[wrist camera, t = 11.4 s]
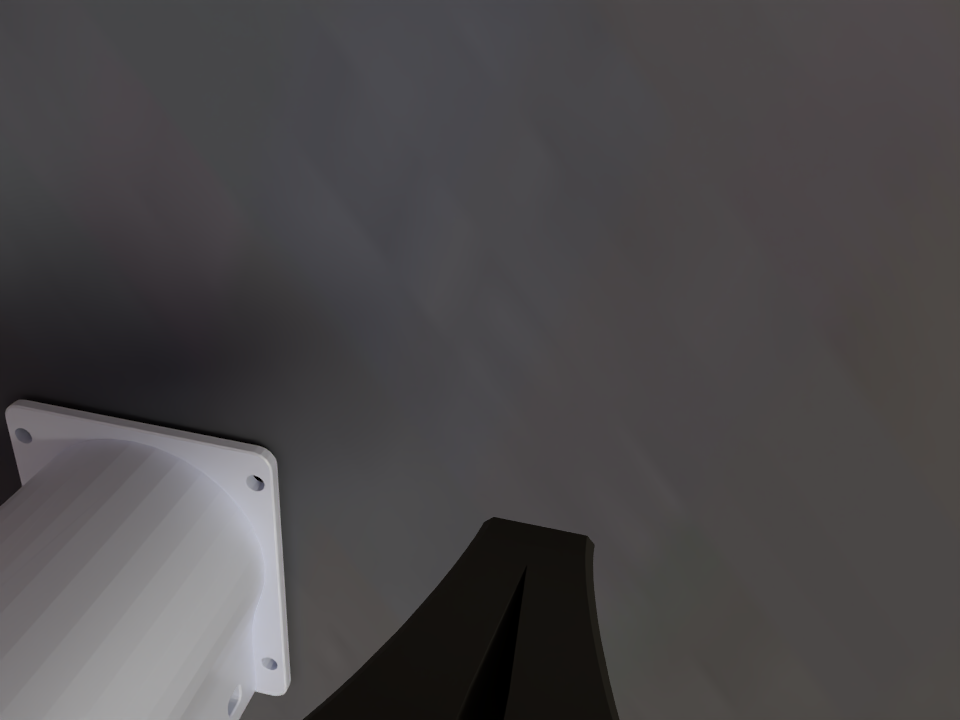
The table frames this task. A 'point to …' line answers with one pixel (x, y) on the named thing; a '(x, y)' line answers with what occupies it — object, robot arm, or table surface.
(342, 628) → the table surface
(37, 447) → the robot arm
